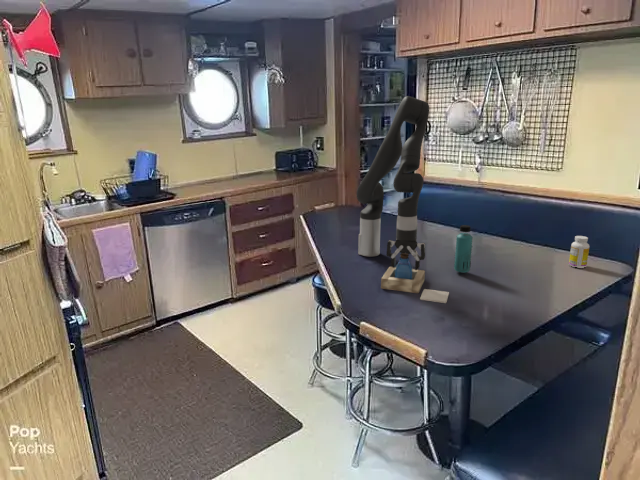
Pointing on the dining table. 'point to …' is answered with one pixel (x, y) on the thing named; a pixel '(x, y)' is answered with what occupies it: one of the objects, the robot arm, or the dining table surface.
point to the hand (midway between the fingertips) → (405, 268)
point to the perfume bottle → (404, 268)
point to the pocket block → (403, 281)
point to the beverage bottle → (463, 250)
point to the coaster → (434, 296)
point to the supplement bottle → (579, 251)
